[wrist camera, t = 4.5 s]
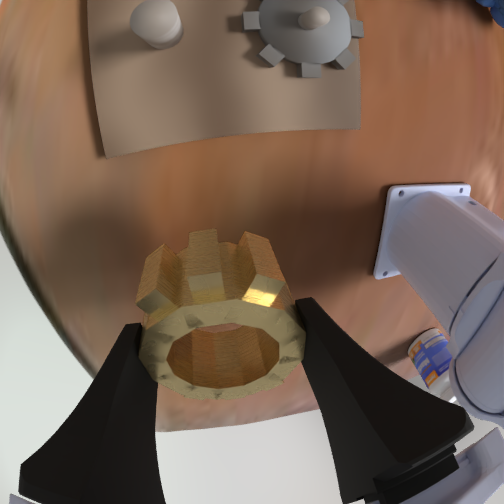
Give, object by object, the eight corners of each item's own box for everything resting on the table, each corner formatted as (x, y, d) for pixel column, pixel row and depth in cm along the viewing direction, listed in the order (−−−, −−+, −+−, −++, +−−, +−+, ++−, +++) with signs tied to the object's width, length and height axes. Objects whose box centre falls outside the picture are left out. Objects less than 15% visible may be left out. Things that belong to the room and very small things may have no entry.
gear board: (338, -44, 8) (376, -69, 4) (352, 126, 15) (395, 143, 11) (94, -27, 7) (64, -53, 3) (111, 154, 14) (81, 180, 10)
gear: (283, 214, 10) (312, 264, 7) (284, 342, 14) (299, 392, 11) (125, 238, 9) (104, 295, 7) (174, 358, 13) (174, 410, 11)
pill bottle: (408, 340, 29) (444, 401, 21) (441, 320, 29) (479, 376, 21) (405, 359, 32) (435, 414, 24) (435, 341, 32) (468, 392, 24)
